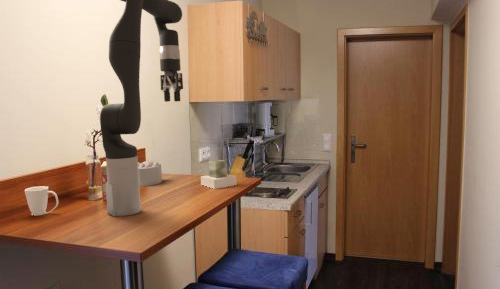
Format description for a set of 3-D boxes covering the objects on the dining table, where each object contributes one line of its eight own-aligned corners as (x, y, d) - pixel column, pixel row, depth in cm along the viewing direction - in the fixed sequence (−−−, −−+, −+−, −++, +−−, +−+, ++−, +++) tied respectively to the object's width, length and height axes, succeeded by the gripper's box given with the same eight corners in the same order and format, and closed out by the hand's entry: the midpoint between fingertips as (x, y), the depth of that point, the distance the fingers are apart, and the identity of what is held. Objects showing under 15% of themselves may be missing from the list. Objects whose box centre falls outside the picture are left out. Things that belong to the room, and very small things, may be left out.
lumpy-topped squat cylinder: (164, 179, 192) (162, 159, 191) (156, 185, 179) (155, 164, 178) (139, 180, 192) (138, 160, 191) (131, 186, 179) (129, 165, 178)
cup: (34, 211, 144) (31, 186, 143) (64, 210, 143) (62, 185, 142) (21, 217, 137) (19, 191, 136) (53, 216, 136) (51, 190, 135)
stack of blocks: (107, 189, 176) (105, 157, 175) (123, 187, 177) (121, 156, 176) (102, 201, 155) (100, 165, 154) (121, 199, 157) (119, 164, 155)
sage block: (216, 178, 171) (215, 162, 170) (209, 176, 175) (208, 161, 174) (227, 176, 174) (226, 161, 173) (220, 174, 178) (219, 159, 177)
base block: (214, 189, 168) (214, 179, 168) (201, 185, 176) (200, 176, 176) (236, 185, 174) (236, 176, 173) (222, 181, 182) (222, 173, 181)
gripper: (153, 59, 174) (155, 102, 175) (169, 56, 162) (171, 101, 164) (170, 60, 178) (172, 101, 180) (187, 57, 166) (189, 100, 168)
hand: (172, 101), depth 172 cm, fingers open, 8 cm apart
